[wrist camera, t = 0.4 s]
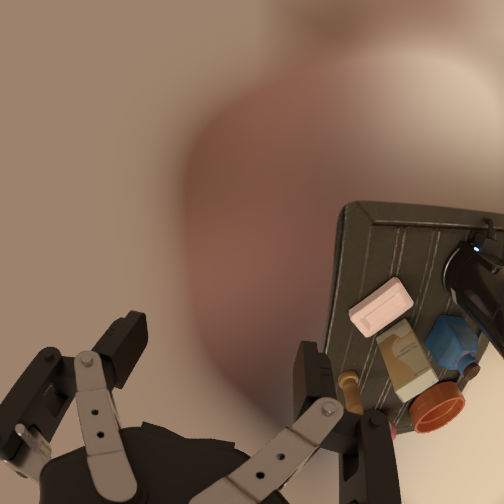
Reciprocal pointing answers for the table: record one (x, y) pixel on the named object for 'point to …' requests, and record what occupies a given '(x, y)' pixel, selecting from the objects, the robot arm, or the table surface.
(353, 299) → the table surface
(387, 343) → the cosmetic box
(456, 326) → the blue potion bottle
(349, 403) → the stick
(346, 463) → the robot arm
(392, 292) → the soap bar
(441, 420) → the bowl
